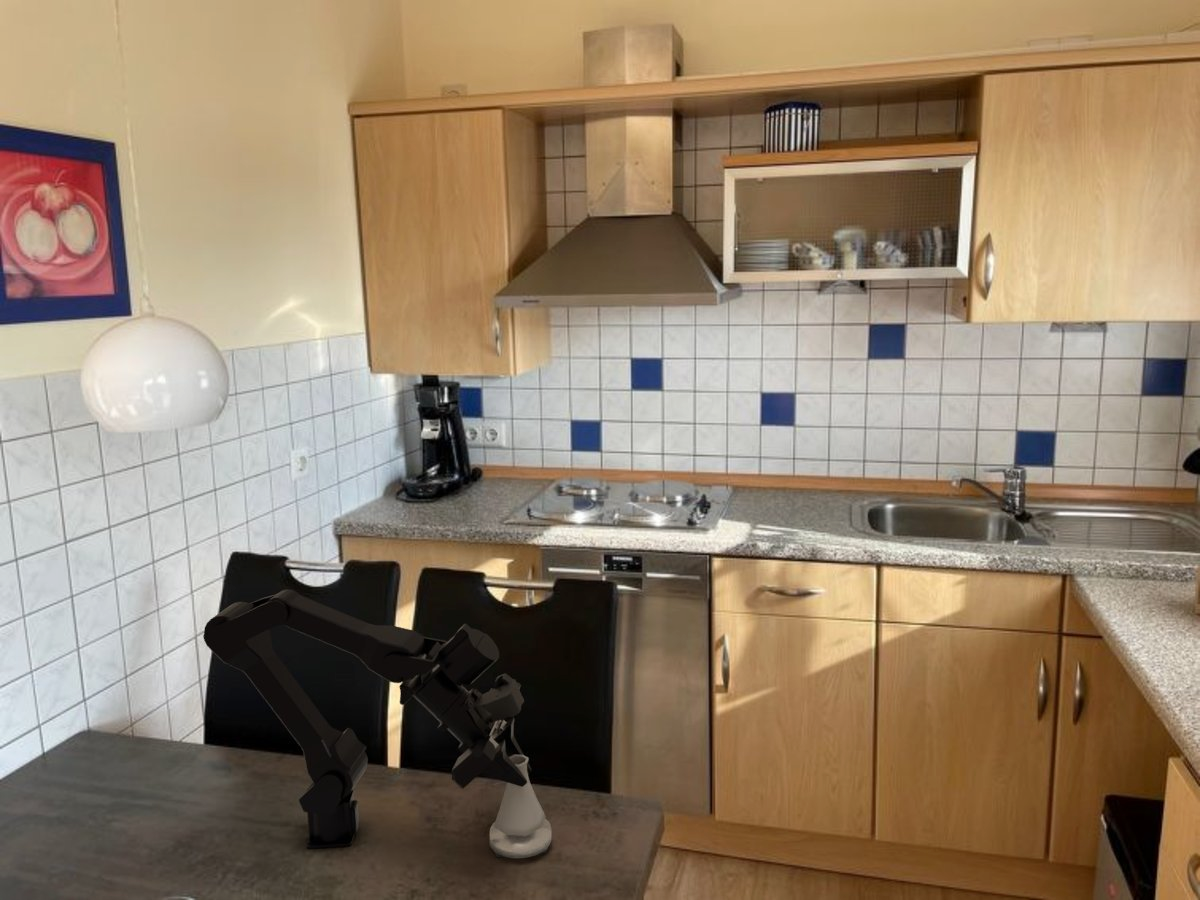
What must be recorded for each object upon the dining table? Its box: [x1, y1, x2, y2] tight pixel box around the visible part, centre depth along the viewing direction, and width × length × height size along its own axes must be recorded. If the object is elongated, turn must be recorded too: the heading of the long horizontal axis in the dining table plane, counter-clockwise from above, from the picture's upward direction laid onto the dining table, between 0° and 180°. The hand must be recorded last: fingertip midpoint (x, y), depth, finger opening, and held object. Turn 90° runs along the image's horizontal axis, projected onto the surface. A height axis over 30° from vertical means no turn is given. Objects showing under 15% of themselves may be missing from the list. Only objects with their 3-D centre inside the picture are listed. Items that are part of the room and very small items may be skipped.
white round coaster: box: [489, 818, 553, 859], centre depth 134 cm, size 9×9×2 cm
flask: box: [494, 754, 546, 836], centre depth 133 cm, size 7×7×10 cm
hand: (527, 778), depth 132 cm, fingers closed on flask, 3 cm apart
